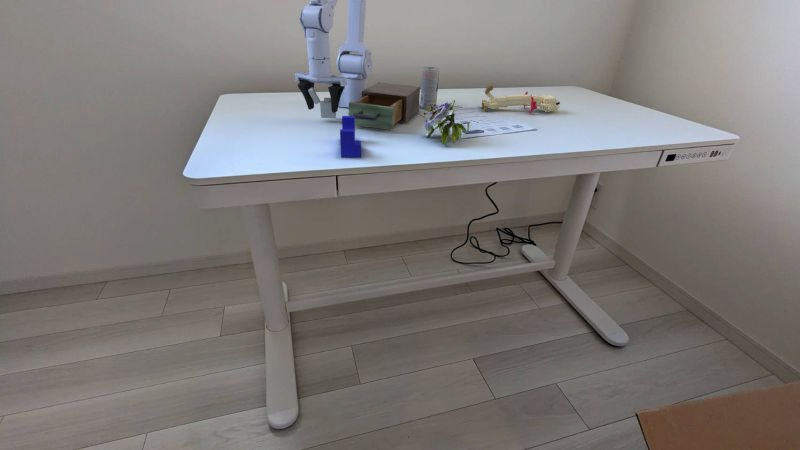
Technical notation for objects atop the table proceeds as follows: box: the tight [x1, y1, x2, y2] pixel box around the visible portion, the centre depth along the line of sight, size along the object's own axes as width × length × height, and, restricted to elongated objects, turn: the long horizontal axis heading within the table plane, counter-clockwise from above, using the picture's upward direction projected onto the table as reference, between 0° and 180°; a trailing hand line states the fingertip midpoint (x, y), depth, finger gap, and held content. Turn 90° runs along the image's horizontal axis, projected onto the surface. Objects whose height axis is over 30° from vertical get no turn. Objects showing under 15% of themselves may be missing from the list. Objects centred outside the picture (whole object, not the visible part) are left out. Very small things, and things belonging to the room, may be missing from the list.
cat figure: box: [481, 84, 561, 114], centre depth 127 cm, size 10×9×25 cm
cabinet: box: [362, 82, 421, 124], centre depth 117 cm, size 14×14×8 cm
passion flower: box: [423, 99, 471, 147], centre depth 100 cm, size 11×11×12 cm
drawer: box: [348, 95, 404, 131], centre depth 107 cm, size 17×12×6 cm
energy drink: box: [419, 66, 440, 110], centre depth 126 cm, size 5×5×12 cm
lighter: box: [308, 87, 337, 119], centre depth 108 cm, size 7×2×8 cm, turn 98°
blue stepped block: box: [339, 115, 362, 158], centre depth 92 cm, size 12×4×6 cm, turn 5°
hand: (322, 110), depth 109 cm, fingers closed on lighter, 7 cm apart
